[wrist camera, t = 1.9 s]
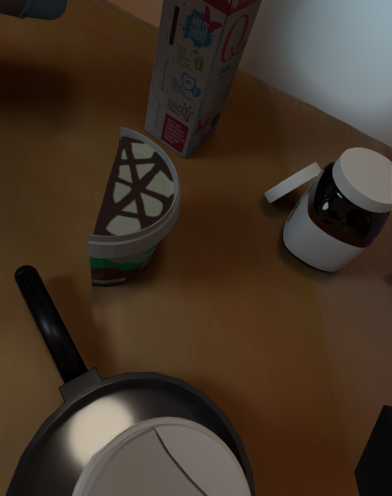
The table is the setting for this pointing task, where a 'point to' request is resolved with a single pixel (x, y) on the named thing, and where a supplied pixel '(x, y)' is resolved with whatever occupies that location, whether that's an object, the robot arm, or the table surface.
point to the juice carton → (195, 68)
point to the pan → (112, 428)
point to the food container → (133, 211)
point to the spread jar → (337, 208)
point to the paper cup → (163, 463)
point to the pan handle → (55, 334)
